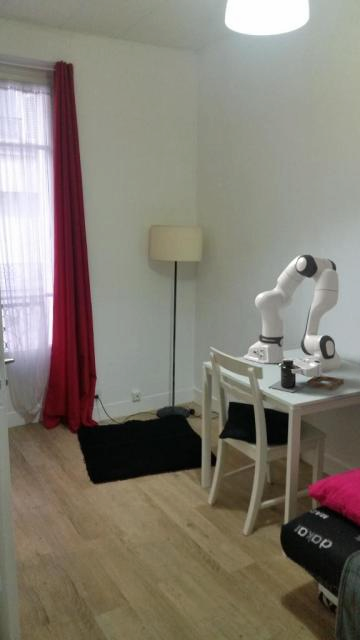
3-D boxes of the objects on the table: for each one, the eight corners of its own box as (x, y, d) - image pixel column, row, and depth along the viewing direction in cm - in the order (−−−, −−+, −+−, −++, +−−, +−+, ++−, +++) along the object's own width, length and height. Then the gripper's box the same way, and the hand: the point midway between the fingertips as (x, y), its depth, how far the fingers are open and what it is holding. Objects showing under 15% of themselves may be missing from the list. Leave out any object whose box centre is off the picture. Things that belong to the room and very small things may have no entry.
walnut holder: (306, 385, 252) (307, 381, 251) (317, 378, 262) (317, 374, 262) (333, 390, 244) (333, 386, 244) (343, 383, 254) (343, 379, 254)
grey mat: (268, 387, 248) (268, 386, 247) (280, 381, 257) (280, 380, 257) (292, 393, 241) (292, 391, 240) (303, 386, 250) (303, 385, 250)
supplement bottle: (297, 387, 244) (297, 361, 243) (283, 387, 243) (282, 361, 242) (293, 384, 251) (293, 359, 250) (279, 385, 250) (278, 359, 249)
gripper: (297, 353, 261) (273, 356, 255) (324, 364, 242) (298, 367, 237) (296, 366, 262) (272, 369, 257) (323, 377, 244) (298, 381, 238)
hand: (285, 368), depth 247 cm, fingers open, 8 cm apart
